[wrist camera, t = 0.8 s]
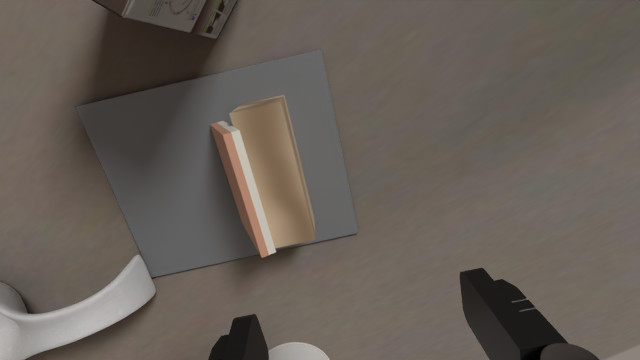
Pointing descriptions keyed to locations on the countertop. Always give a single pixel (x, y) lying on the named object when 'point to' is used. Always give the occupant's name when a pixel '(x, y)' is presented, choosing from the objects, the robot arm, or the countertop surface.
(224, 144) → the tile
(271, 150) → the block
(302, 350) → the bracket
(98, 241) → the countertop surface
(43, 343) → the spoon rest
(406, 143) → the countertop surface
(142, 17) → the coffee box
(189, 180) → the mat
